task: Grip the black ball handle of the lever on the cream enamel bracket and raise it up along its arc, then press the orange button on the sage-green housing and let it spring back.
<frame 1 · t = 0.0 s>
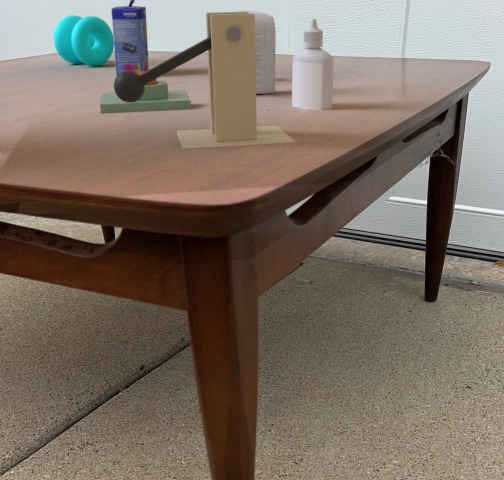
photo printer: (244, 95, 110), on the table
button: (143, 79, 95), point 4 cm above the table, slide at 0.1 cm
lever: (178, 59, 72), point 9 cm above the table, hinge at -25.0°
ink cartridge box: (134, 75, 135), on the table
button box: (145, 112, 97), on the table
cyan double wheel: (86, 65, 151), on the table
eye dropper bottle: (311, 116, 93), on the table
bracket: (233, 146, 77), on the table
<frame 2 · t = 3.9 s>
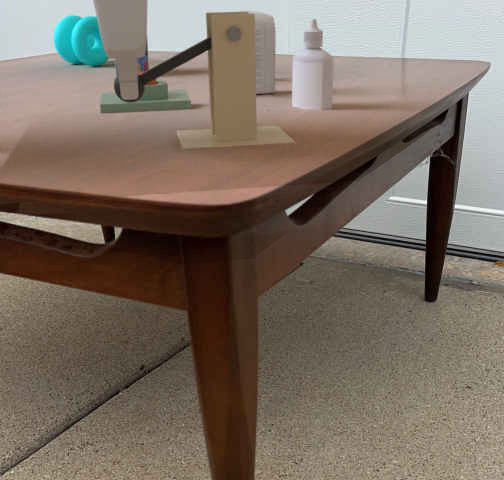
hand: (129, 95, 73), 6 cm above the table, tool pointing down, fingers closed on lever, 3 cm apart
lever: (178, 59, 72), point 9 cm above the table, hinge at -25.0°, touching gripper
everything else where it was.
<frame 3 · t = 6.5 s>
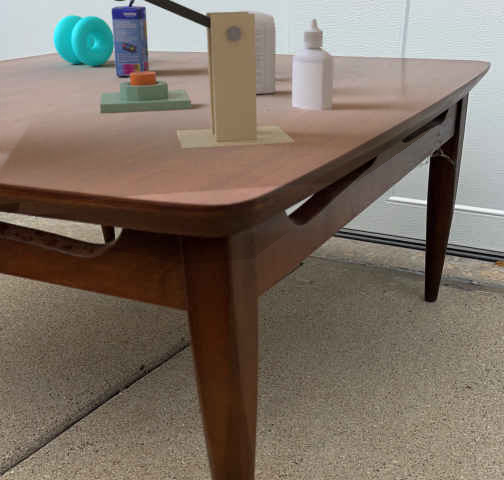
lever: (174, 8, 70), point 14 cm above the table, hinge at 23.6°, touching gripper
everything else where it was.
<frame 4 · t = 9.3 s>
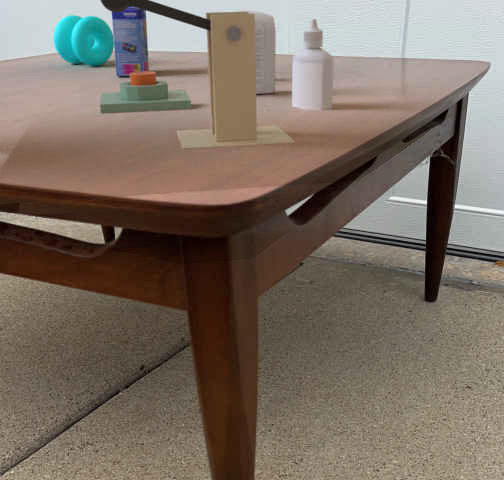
lever: (173, 13, 70), point 14 cm above the table, hinge at 18.3°
everything else where it was.
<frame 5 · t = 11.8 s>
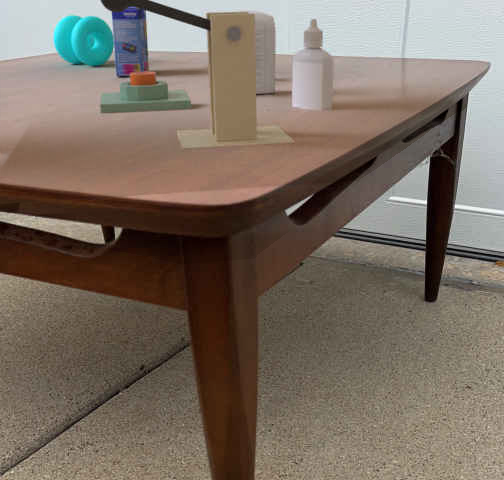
nothing on the table moved.
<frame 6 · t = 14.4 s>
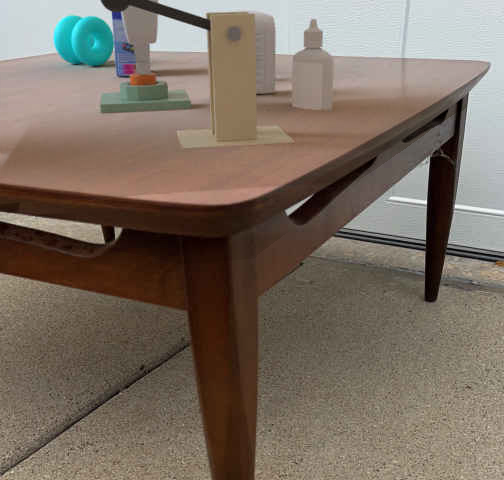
hand: (143, 73, 95), 5 cm above the table, tool pointing down, fingers closed, pressing on button
button: (143, 80, 95), point 4 cm above the table, slide at -0.1 cm, touching gripper
everything else where it was.
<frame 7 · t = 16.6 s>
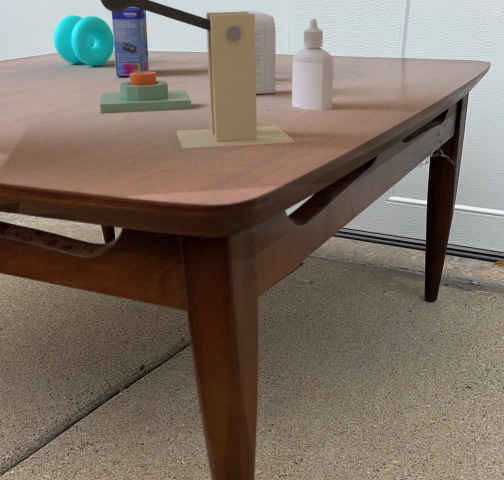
button: (143, 79, 95), point 4 cm above the table, slide at 0.1 cm
everything else where it was.
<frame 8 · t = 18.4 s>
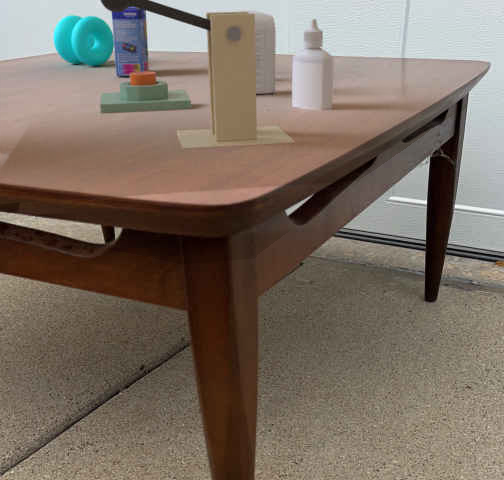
nothing on the table moved.
at the end: lever at +18° (first picture: -25°); button pushed in 1.1 cm at the most during the clip, back to where it started at the end; button slide at 0.1 cm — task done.
